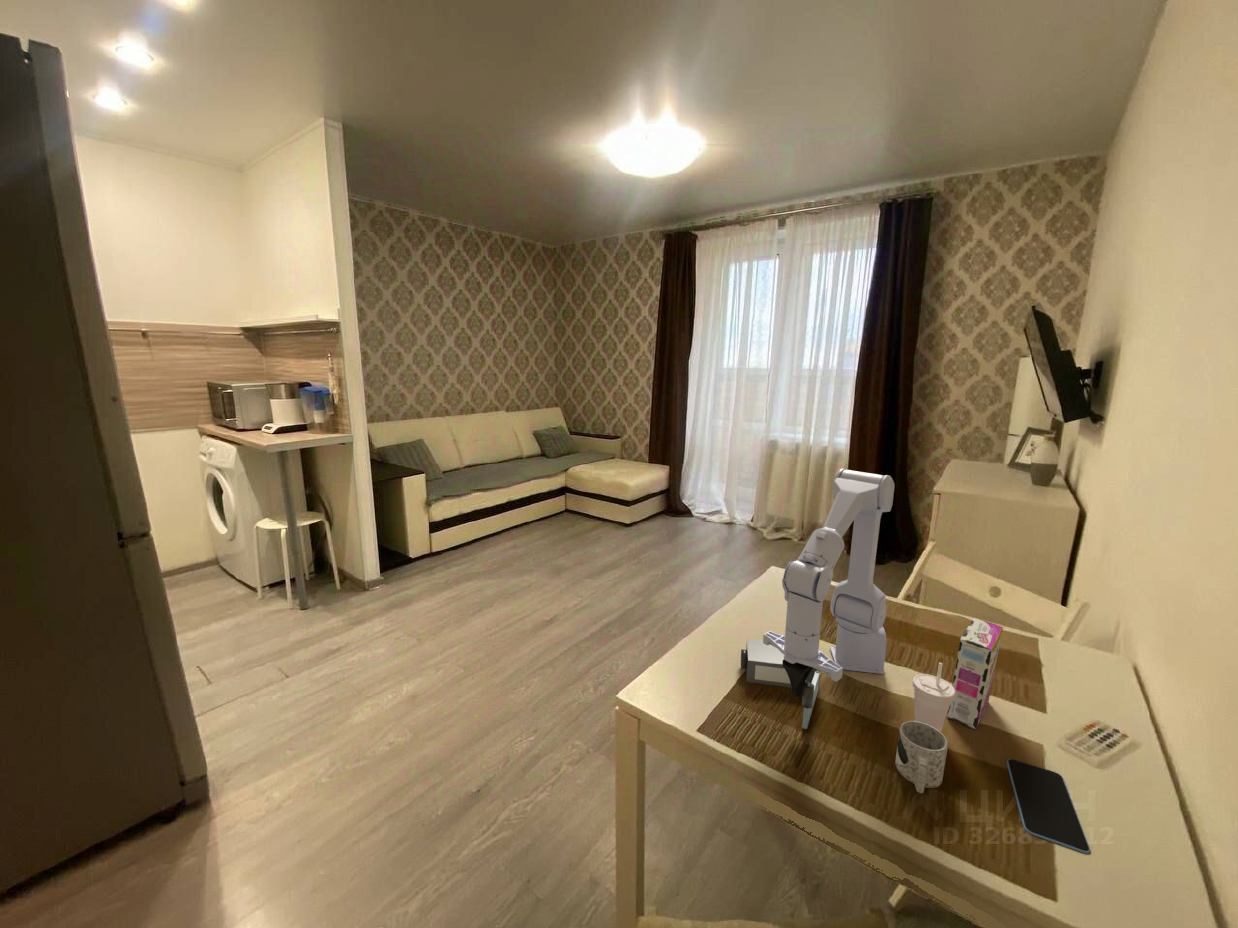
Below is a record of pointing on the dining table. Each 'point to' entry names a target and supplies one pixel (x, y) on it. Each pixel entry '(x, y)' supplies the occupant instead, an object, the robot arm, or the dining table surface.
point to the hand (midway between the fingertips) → (797, 694)
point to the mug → (921, 754)
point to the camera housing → (766, 665)
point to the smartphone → (1046, 805)
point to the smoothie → (932, 698)
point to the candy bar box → (974, 672)
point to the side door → (809, 698)
